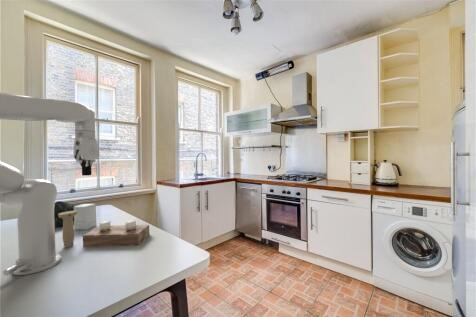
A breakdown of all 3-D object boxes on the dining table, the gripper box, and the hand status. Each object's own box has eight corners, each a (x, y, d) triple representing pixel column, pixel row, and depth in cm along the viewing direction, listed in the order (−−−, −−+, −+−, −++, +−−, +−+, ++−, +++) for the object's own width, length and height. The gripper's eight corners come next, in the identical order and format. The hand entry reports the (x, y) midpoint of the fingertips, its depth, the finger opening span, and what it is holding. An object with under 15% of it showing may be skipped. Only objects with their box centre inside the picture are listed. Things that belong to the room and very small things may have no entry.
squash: (79, 209, 132) (58, 195, 124) (86, 214, 122) (64, 199, 114) (58, 228, 124) (34, 214, 116) (63, 235, 115) (38, 220, 106)
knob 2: (133, 239, 93) (133, 223, 93) (123, 239, 93) (123, 223, 93) (138, 235, 98) (137, 220, 97) (128, 235, 98) (128, 220, 97)
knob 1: (107, 240, 93) (106, 223, 93) (97, 240, 93) (97, 224, 93) (112, 236, 97) (112, 220, 97) (103, 236, 97) (103, 220, 97)
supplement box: (97, 225, 117) (96, 203, 117) (86, 229, 110) (85, 206, 110) (85, 224, 118) (84, 203, 118) (73, 229, 111) (73, 206, 110)
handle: (57, 247, 89) (56, 213, 88) (75, 242, 94) (74, 210, 94) (61, 250, 86) (60, 215, 86) (79, 244, 91) (78, 211, 91)
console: (137, 245, 89) (137, 234, 89) (83, 246, 89) (82, 235, 89) (149, 234, 101) (149, 224, 101) (101, 235, 101) (100, 225, 101)
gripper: (81, 133, 86) (82, 176, 86) (104, 136, 101) (105, 173, 101) (63, 133, 86) (65, 177, 86) (89, 137, 101) (90, 173, 101)
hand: (86, 175), depth 94 cm, fingers closed
